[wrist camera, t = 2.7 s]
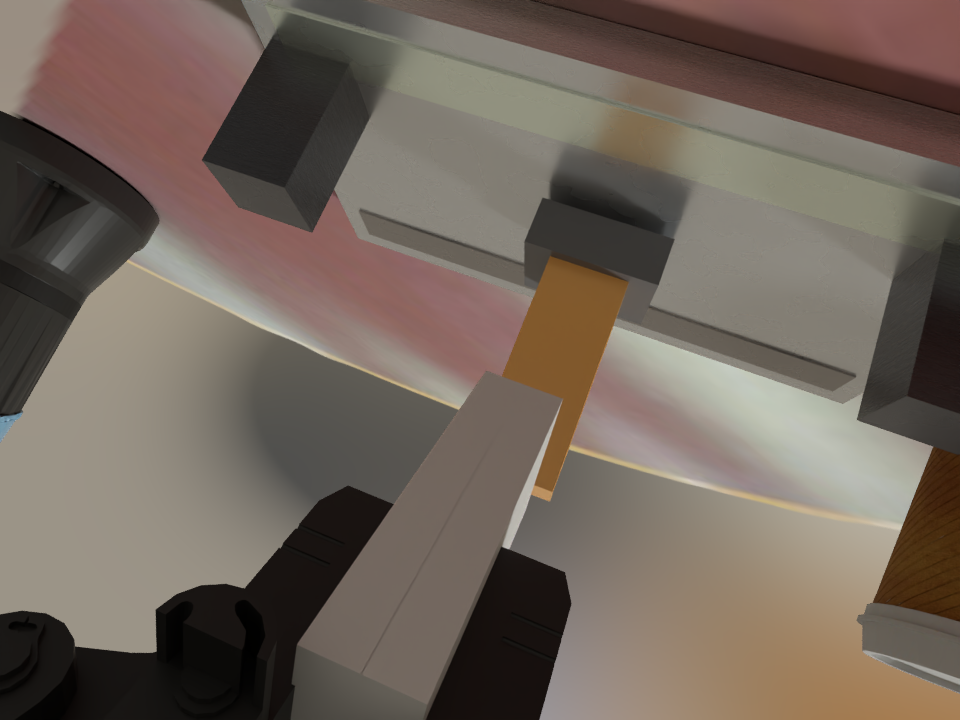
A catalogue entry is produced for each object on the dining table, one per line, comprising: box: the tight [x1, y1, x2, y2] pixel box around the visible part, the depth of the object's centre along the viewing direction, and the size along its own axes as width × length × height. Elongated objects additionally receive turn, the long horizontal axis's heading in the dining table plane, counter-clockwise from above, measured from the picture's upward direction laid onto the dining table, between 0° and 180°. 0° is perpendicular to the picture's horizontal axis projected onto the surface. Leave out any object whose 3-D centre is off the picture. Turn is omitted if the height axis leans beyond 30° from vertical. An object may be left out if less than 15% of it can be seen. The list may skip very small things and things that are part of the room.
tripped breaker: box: [502, 197, 675, 501], centre depth 26 cm, size 5×4×10 cm
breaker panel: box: [202, 0, 960, 455], centre depth 27 cm, size 26×18×6 cm
